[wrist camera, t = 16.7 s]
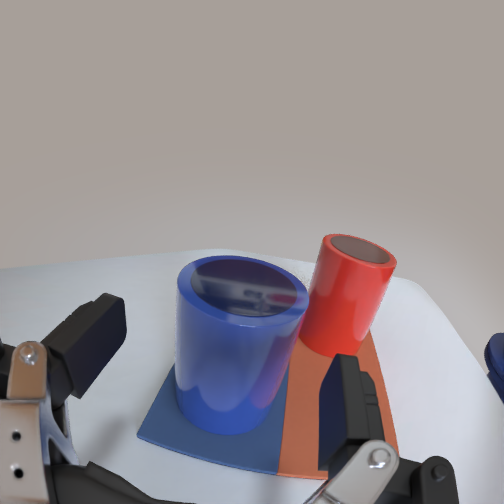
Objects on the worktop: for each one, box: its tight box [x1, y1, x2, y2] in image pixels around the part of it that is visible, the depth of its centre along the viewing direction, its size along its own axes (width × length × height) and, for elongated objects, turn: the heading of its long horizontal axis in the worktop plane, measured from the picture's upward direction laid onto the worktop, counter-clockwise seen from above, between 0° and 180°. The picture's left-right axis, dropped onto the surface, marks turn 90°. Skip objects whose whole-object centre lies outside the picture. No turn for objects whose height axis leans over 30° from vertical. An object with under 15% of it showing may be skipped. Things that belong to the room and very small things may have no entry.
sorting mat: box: [137, 329, 399, 480], centre depth 21 cm, size 16×19×1 cm
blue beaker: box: [175, 256, 309, 435], centre depth 15 cm, size 6×6×9 cm
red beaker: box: [298, 234, 397, 358], centre depth 23 cm, size 6×6×8 cm
